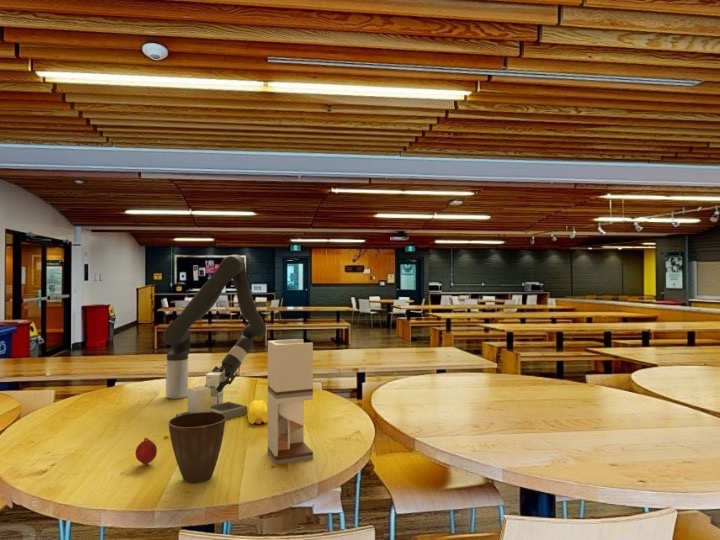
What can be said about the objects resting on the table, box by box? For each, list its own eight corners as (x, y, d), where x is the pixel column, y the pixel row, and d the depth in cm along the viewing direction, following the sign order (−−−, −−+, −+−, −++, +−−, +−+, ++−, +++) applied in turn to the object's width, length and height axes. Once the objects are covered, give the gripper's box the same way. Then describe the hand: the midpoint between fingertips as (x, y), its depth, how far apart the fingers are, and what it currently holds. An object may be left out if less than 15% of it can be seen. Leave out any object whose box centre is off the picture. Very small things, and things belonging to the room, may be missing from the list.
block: (187, 420, 183) (187, 388, 183) (201, 416, 188) (201, 386, 188) (196, 423, 179) (196, 391, 180) (210, 419, 184) (210, 388, 184)
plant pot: (155, 484, 128) (155, 423, 128) (193, 464, 142) (194, 409, 142) (201, 493, 122) (201, 430, 123) (236, 471, 136) (236, 414, 137)
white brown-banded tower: (275, 464, 141) (275, 345, 142) (267, 452, 151) (267, 340, 151) (312, 458, 146) (312, 342, 146) (302, 447, 155) (302, 338, 156)
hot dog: (248, 427, 177) (269, 425, 179) (248, 409, 177) (269, 407, 179) (247, 414, 195) (266, 412, 196) (247, 397, 195) (266, 396, 197)
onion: (139, 461, 144) (139, 434, 144) (159, 460, 144) (159, 433, 145) (132, 468, 138) (132, 440, 138) (152, 468, 139) (153, 440, 139)
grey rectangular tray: (176, 422, 183) (176, 414, 183) (228, 408, 201) (228, 401, 201) (194, 428, 175) (194, 420, 175) (247, 413, 194) (247, 406, 194)
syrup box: (223, 405, 207) (223, 371, 207) (218, 409, 201) (218, 374, 201) (211, 405, 207) (211, 371, 208) (205, 408, 201) (205, 374, 202)
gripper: (219, 351, 215) (196, 382, 205) (239, 354, 206) (216, 386, 197) (229, 362, 219) (207, 392, 210) (249, 365, 210) (227, 397, 201)
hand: (212, 389), depth 203 cm, fingers closed on syrup box, 8 cm apart
